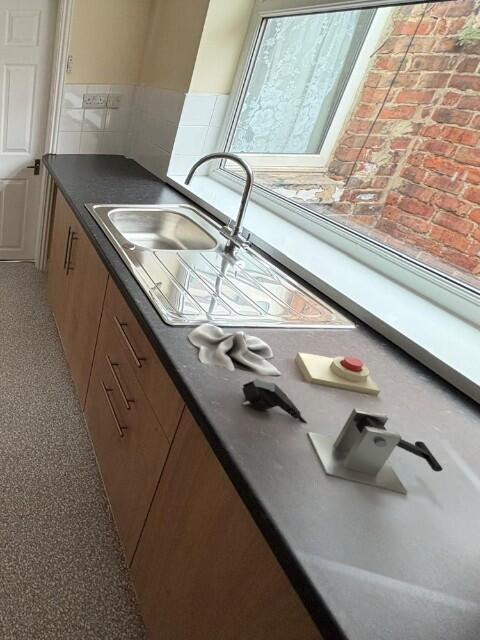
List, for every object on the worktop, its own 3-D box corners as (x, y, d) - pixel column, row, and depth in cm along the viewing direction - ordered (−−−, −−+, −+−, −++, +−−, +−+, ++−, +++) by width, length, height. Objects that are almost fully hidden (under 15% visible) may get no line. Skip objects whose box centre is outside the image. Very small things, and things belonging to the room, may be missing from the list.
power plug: (313, 435, 78) (263, 386, 80) (275, 446, 83) (229, 400, 85) (312, 415, 82) (265, 369, 84) (276, 427, 87) (232, 383, 89)
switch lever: (416, 449, 71) (429, 441, 70) (434, 474, 67) (448, 466, 66) (351, 418, 72) (362, 410, 71) (365, 441, 68) (377, 433, 67)
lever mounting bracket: (376, 452, 76) (403, 410, 71) (403, 498, 68) (436, 454, 63) (304, 436, 79) (326, 395, 74) (323, 478, 71) (348, 435, 67)
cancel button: (355, 364, 91) (359, 357, 91) (362, 373, 89) (366, 367, 88) (338, 360, 92) (341, 354, 92) (344, 370, 90) (348, 364, 89)
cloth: (186, 321, 112) (191, 302, 109) (266, 336, 106) (273, 316, 103) (192, 376, 94) (199, 354, 91) (289, 398, 88) (300, 376, 85)
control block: (356, 370, 95) (363, 356, 93) (376, 398, 87) (384, 384, 85) (294, 359, 98) (300, 345, 97) (308, 385, 91) (315, 371, 89)
